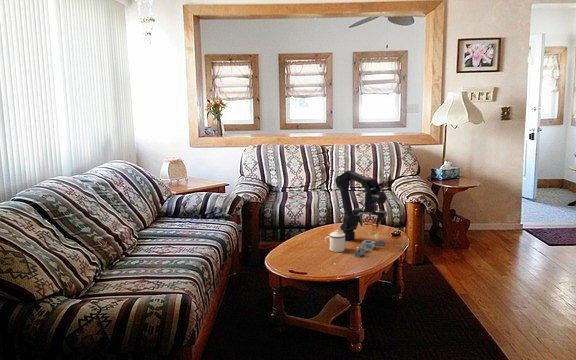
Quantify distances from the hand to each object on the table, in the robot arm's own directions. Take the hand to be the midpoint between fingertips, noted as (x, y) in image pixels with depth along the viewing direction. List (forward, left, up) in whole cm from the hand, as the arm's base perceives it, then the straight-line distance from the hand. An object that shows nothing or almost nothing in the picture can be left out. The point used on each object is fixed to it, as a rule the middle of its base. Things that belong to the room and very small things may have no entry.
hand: (369, 227), depth 277 cm
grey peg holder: (+4, +9, -12) cm, 15 cm away
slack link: (-3, -7, -12) cm, 14 cm away
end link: (0, 0, -12) cm, 12 cm away
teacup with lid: (-19, -6, -12) cm, 23 cm away
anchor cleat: (-5, -14, -12) cm, 19 cm away
